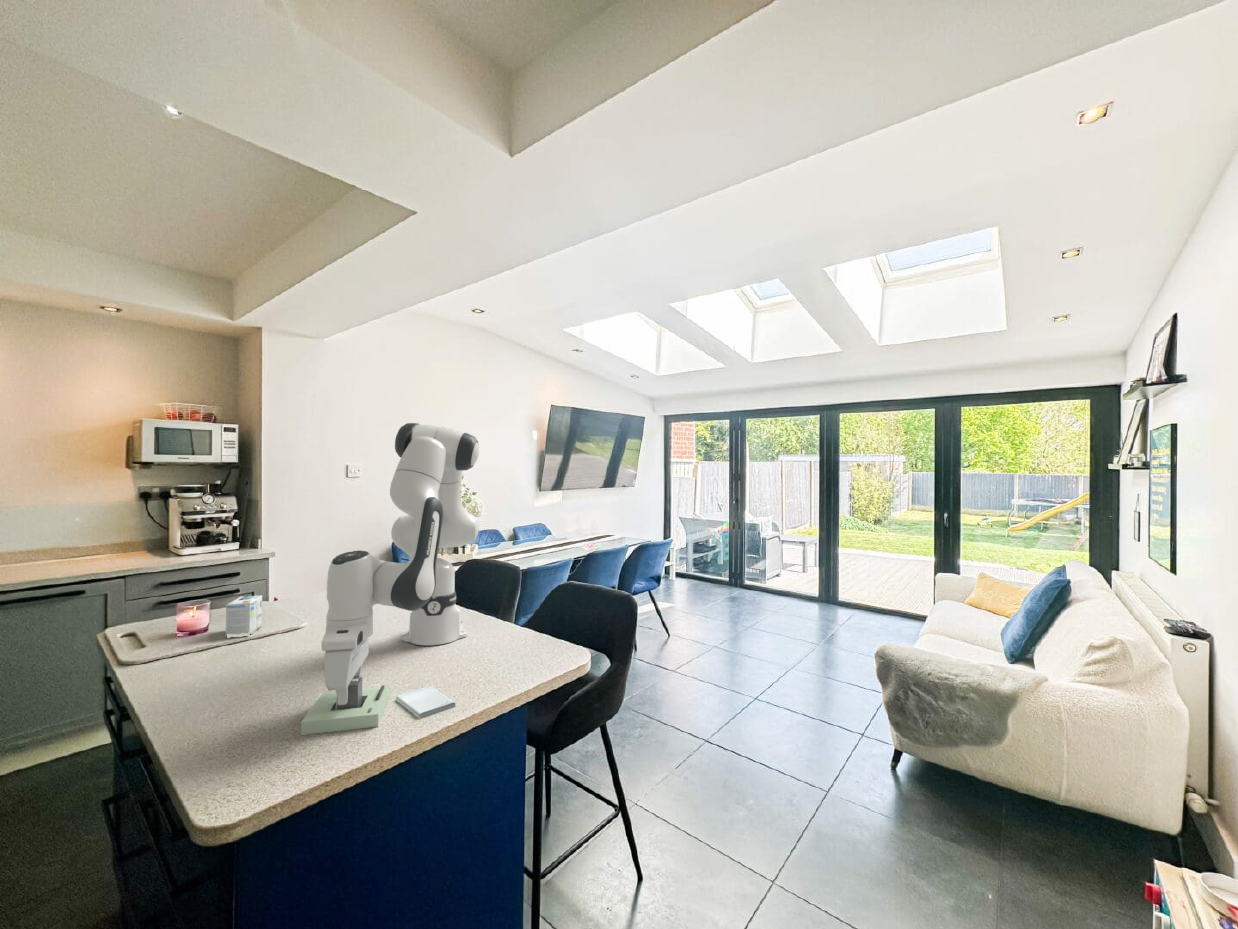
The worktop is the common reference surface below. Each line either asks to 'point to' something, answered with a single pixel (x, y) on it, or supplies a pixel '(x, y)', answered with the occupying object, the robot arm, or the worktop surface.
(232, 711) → the worktop surface
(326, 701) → the outlet plate
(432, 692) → the hard drive
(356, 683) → the plug
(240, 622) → the light bulb box
